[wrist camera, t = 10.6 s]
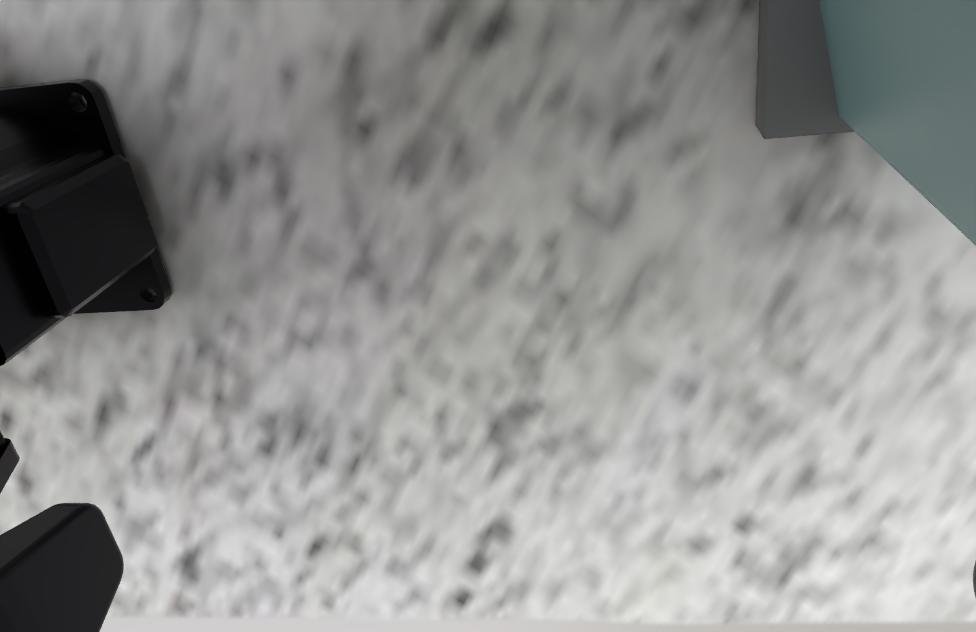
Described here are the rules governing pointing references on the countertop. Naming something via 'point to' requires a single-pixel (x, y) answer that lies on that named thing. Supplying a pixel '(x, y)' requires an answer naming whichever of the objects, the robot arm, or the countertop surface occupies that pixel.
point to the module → (912, 91)
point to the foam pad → (794, 72)
